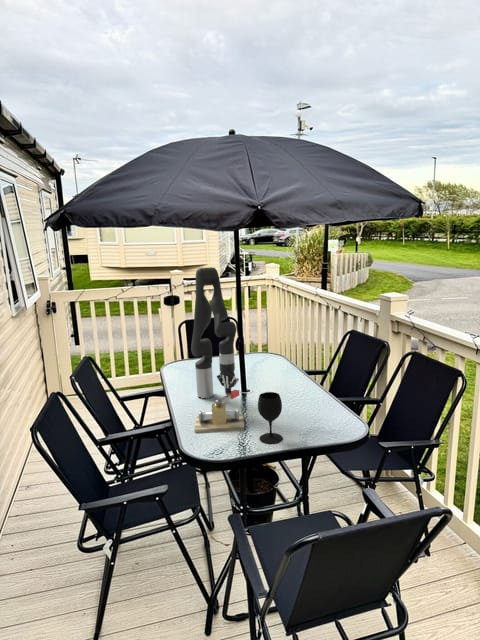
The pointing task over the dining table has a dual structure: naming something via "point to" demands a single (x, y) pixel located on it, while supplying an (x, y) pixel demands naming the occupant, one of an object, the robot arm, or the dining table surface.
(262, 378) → the dining table surface
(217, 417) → the valve
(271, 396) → the wine glass
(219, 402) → the lever
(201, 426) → the mounting board
